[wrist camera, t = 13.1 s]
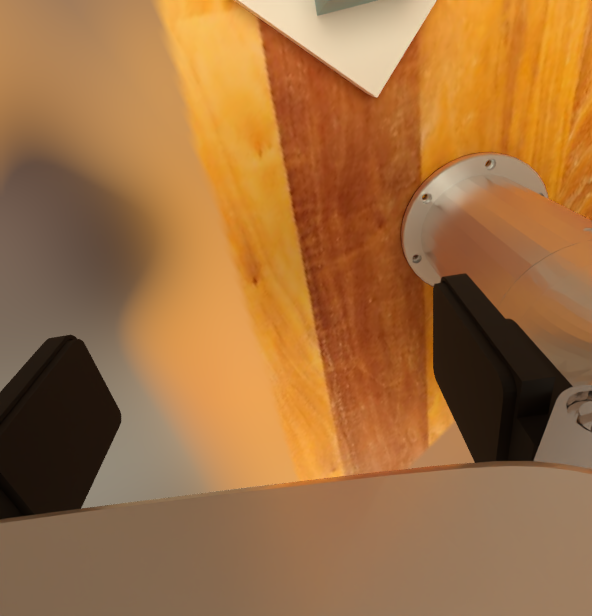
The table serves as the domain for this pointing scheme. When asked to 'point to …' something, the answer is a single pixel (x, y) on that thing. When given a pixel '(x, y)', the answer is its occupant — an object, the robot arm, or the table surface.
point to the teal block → (336, 5)
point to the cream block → (349, 34)
